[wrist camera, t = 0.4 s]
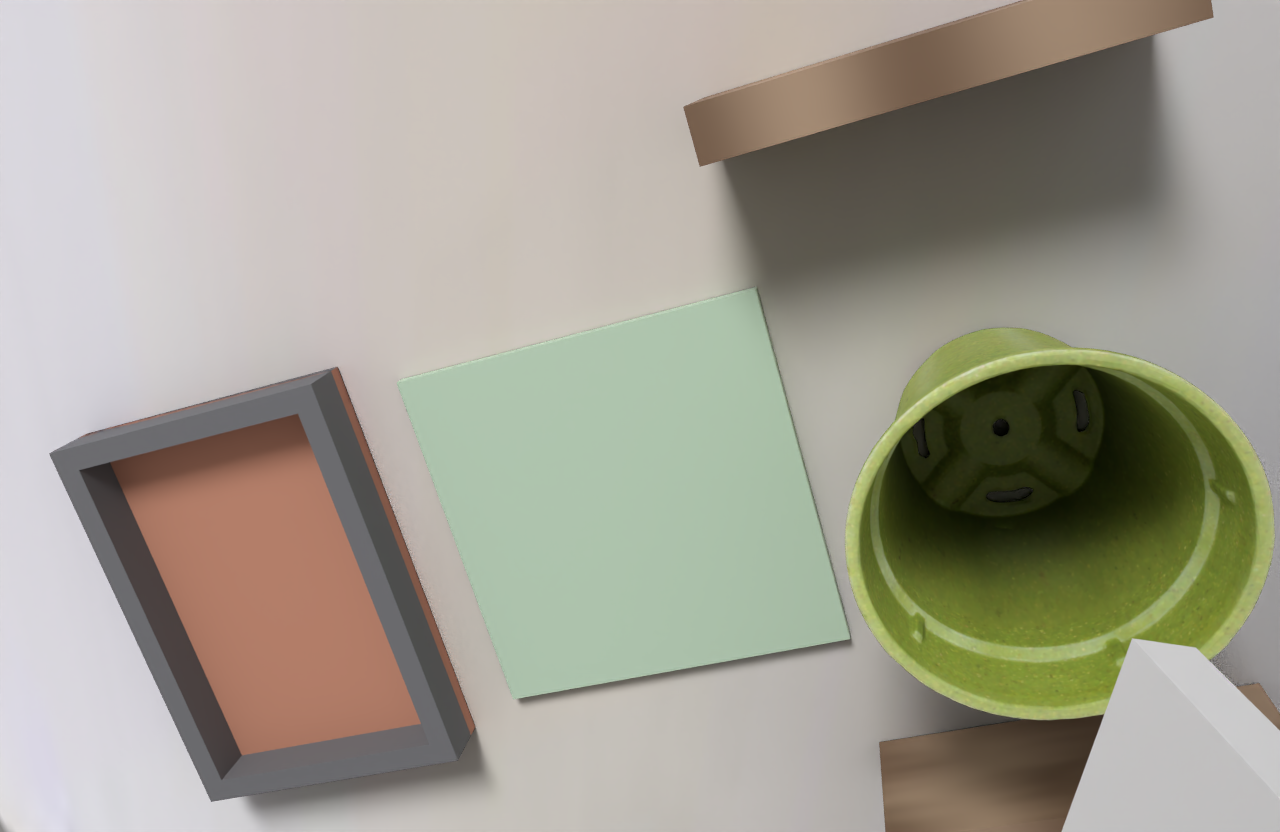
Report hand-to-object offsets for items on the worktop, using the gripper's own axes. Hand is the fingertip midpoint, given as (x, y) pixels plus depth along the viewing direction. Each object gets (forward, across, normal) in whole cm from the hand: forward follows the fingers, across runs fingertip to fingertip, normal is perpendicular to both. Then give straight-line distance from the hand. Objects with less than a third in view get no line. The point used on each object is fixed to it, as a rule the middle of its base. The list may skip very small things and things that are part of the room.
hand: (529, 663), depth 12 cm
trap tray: (+26, -8, -14) cm, 30 cm away
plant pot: (+21, +14, -2) cm, 25 cm away
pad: (+23, +3, -8) cm, 24 cm away
